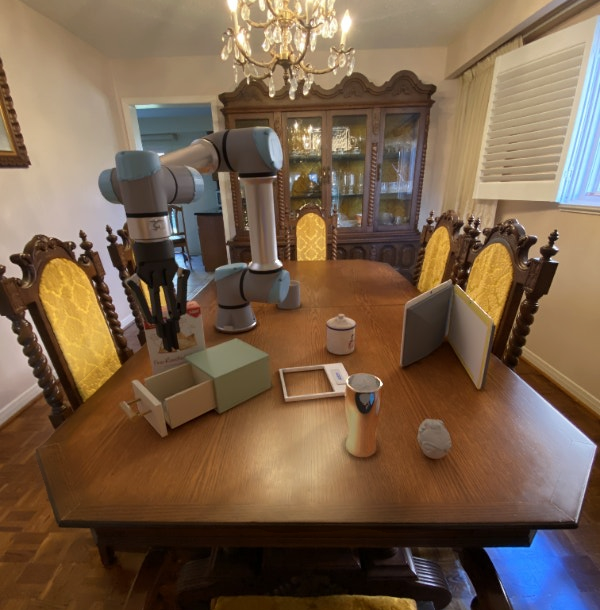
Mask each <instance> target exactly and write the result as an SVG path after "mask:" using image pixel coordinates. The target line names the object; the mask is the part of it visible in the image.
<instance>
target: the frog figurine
mask: <svg viewBox="0 0 600 610" xmlns="http://www.w3.org/2000/svg"><path fill="white" fill-rule="evenodd" d="M416 439H417V441H418V442H417V443H418V445H419V446H420V449H421V451H422V452H423V454H424V455H425V456H426V457H428V458H430V459H433V460H439V459H442V458H444V457H445V456H447V454H449V453H450V449H452V441H451V435H450V433H449V431H448V429H447V427H446V425H445V423H444V421H442V420H441V419H435V418H434V419H433V418H431V419H430V418H426V419H424V420H423V421H422V422H421V423H420V425H419V427H418V434H417V436H416Z"/></svg>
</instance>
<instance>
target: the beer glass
mask: <svg viewBox="0 0 600 610" xmlns="http://www.w3.org/2000/svg"><path fill="white" fill-rule="evenodd" d="M382 408H383V381H382V380H381V378H380V377H378V376H376V375H374V374H371V373H366V372H360V373H357V372H356V373H354V374H351V375H349V377H348V378H347V380H346V389H345V395H344V413H345V418H346V425H347V435H346V439H345V449H346V451H347V452H348V453H349V454H351V455H352V456H354V457H357V458H369V457H371V456H373V455H374V454H375V453H376V451H377V441H376V431H377V427H378V425H379V421H380V418H381V413H382Z"/></svg>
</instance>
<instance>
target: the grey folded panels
mask: <svg viewBox="0 0 600 610" xmlns="http://www.w3.org/2000/svg"><path fill="white" fill-rule="evenodd" d="M496 328H497V325H496V324H495V323H494V322H493V318H492V317H491V316H490V315H489V314H488V313H487V312H486V311H485V310H484V309H483V308H482V307H481V306H480V305H479V304H478V303H477V302H476V301H475V300H474V299H473V298H471V296H470V295H468V293H466V292H465V291H464V289H462V288H461V287H460V285H458V284H457V283H456V284H453V280H452V279H448V280H446V281H444V282H442V283H440V284H438V285H436V286H435V287H432V288H431V289H429V290H427V291H425V292H423V293H422V294H419V295H418V296H416V297H414V298H412V299H410V300H408V301H406V303H405V304H404V309H403V321H402V332H401V343H400V344H401V345H400V357H399V358H400V359H399V366H400V367H407V366H409V365H411V364H413V363H415V362H418V361H419V360H421V359H424V358H426V357H428V356H429V355H431V354H432V352H434V351H435V350H436V349H438V348H439V347H440V346H441V345H442V344H443V342H444V340H445V339H446V337H447V342H448V343H449V344H450V346H451V348H452V350H453V351H454V353H455V355H456V356H457V358H458V360H459V362H460V363H461V365H462V366H463V369H465V371H466V373H467V374H468V376H469V377H470V379H471V381H472V382H473V384H474V386H475V387H476V388H477V390H480V389H485V385H486V380H487V375H488V369H489V366H490V365H489V364H490V359H491V355H492V349H493V343H494V339H495V334H496V333H495V332H496Z"/></svg>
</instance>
